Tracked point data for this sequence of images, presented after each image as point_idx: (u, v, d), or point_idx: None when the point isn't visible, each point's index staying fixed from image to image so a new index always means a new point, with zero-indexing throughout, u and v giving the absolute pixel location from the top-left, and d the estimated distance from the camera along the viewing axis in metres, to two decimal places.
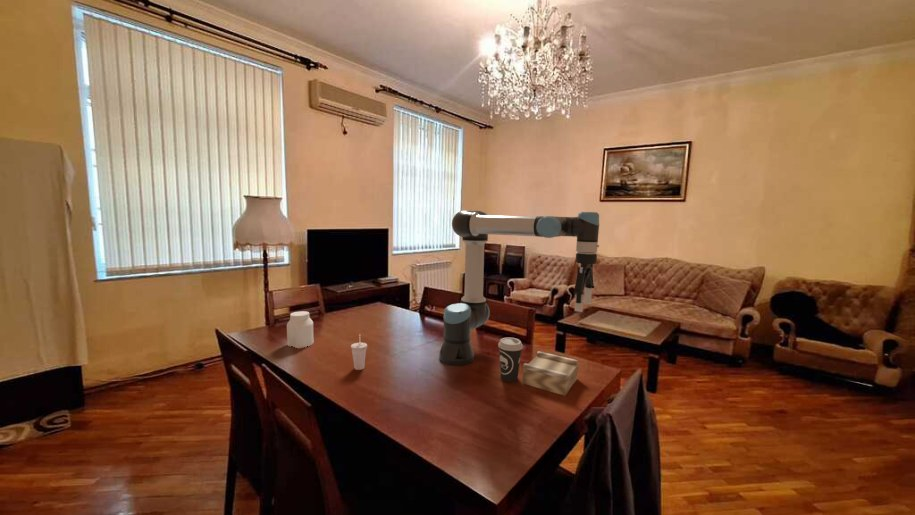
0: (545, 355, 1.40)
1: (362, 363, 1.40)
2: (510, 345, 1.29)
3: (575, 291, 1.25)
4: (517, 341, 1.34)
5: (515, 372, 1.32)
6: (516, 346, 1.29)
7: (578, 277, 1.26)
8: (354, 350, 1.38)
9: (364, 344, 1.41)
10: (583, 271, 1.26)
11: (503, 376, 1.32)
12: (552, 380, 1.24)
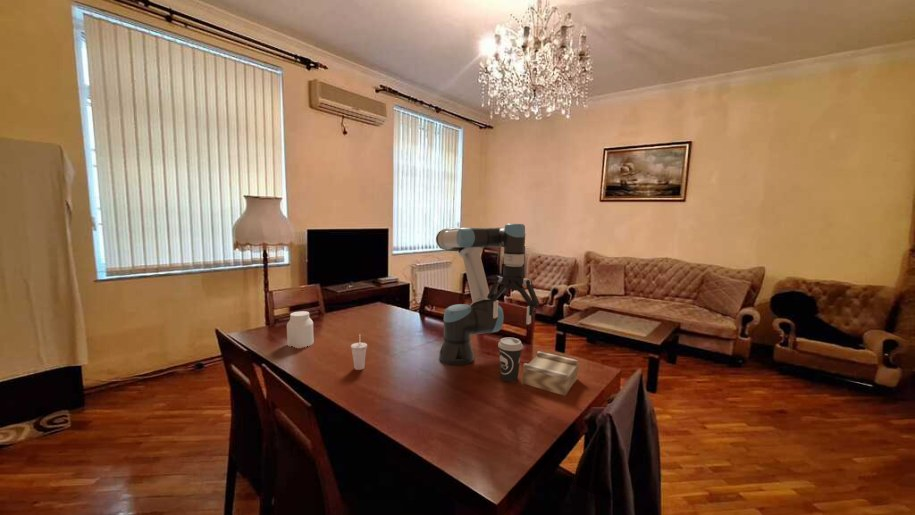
0: (545, 355, 1.40)
1: (362, 363, 1.40)
2: (510, 345, 1.29)
3: None
4: (517, 341, 1.34)
5: (515, 372, 1.32)
6: (516, 346, 1.29)
7: None
8: (354, 350, 1.38)
9: (364, 344, 1.41)
10: None
11: (503, 376, 1.32)
12: (552, 380, 1.24)
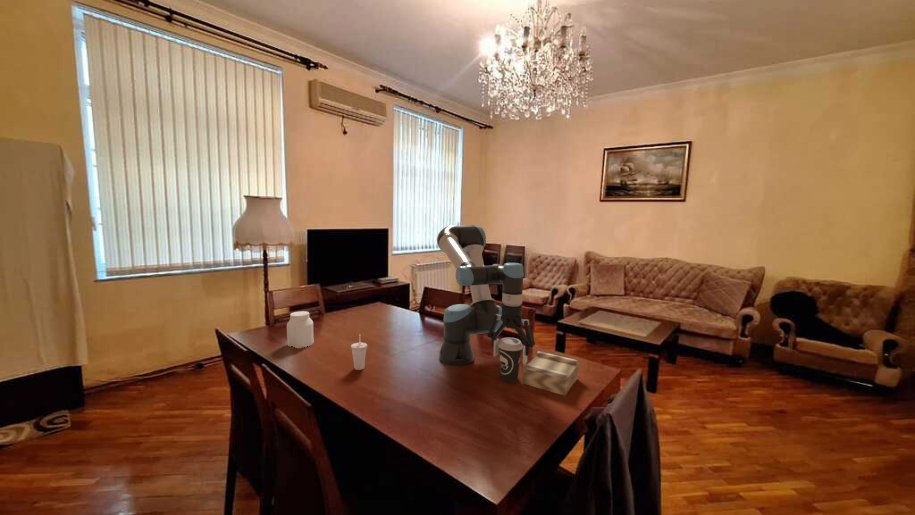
0: (545, 355, 1.40)
1: (362, 363, 1.40)
2: (510, 345, 1.29)
3: None
4: (517, 341, 1.34)
5: (515, 372, 1.32)
6: (516, 346, 1.29)
7: None
8: (354, 350, 1.38)
9: (364, 344, 1.41)
10: None
11: (503, 376, 1.32)
12: (552, 380, 1.24)
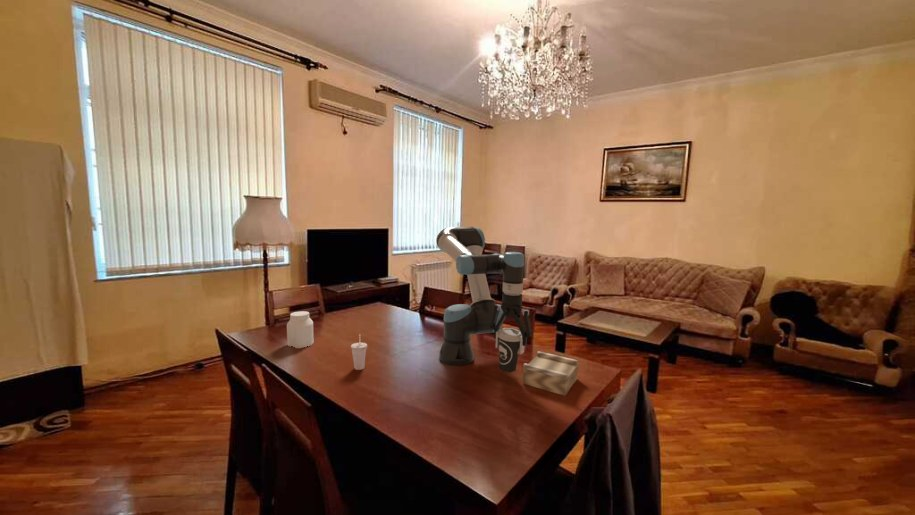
0: (545, 355, 1.40)
1: (362, 363, 1.40)
2: (510, 336, 1.29)
3: None
4: (517, 332, 1.34)
5: (514, 362, 1.32)
6: (516, 337, 1.29)
7: None
8: (354, 350, 1.38)
9: (364, 344, 1.41)
10: None
11: (501, 366, 1.33)
12: (552, 380, 1.24)
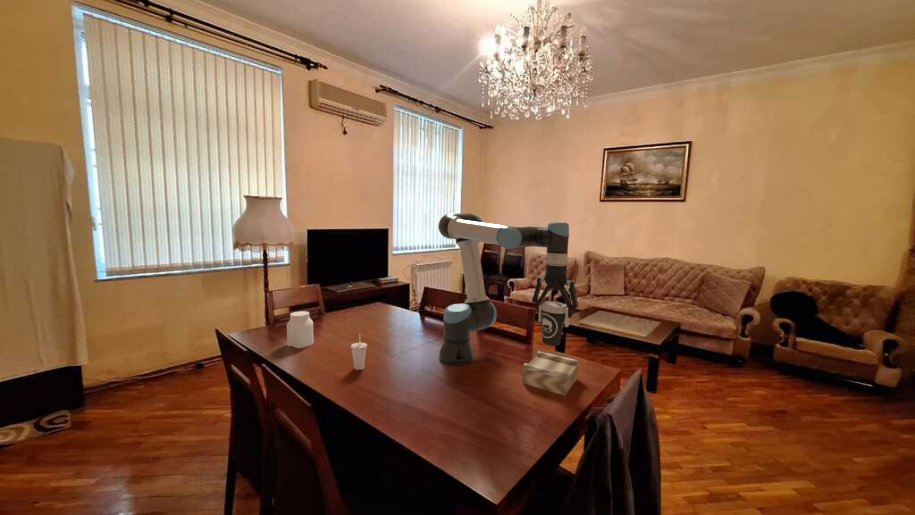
0: (545, 355, 1.40)
1: (362, 363, 1.40)
2: (555, 307, 1.26)
3: None
4: (561, 305, 1.31)
5: (559, 336, 1.28)
6: (561, 309, 1.26)
7: None
8: (354, 350, 1.38)
9: (364, 344, 1.41)
10: None
11: (546, 340, 1.29)
12: (552, 380, 1.24)
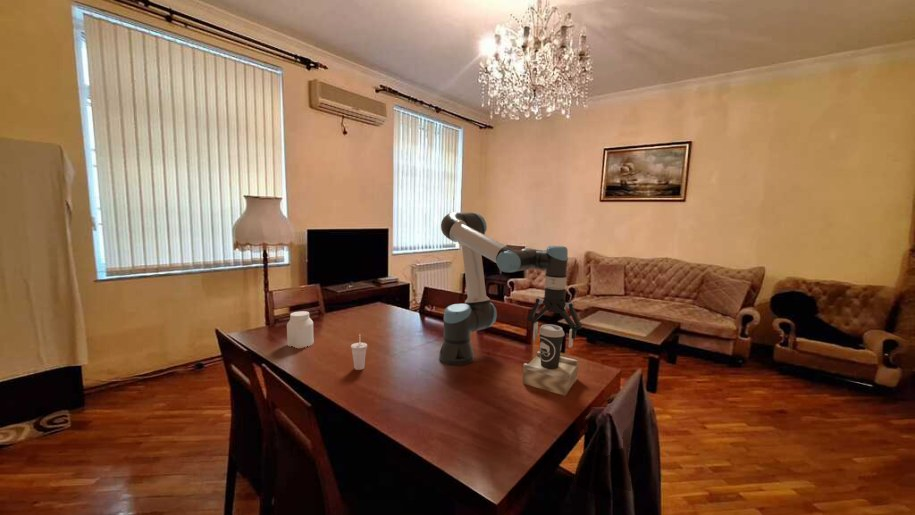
0: None
1: (362, 363, 1.40)
2: (552, 331, 1.27)
3: None
4: (558, 328, 1.32)
5: (557, 359, 1.29)
6: (558, 332, 1.27)
7: None
8: (354, 350, 1.38)
9: (364, 344, 1.41)
10: None
11: (544, 363, 1.30)
12: (552, 380, 1.24)
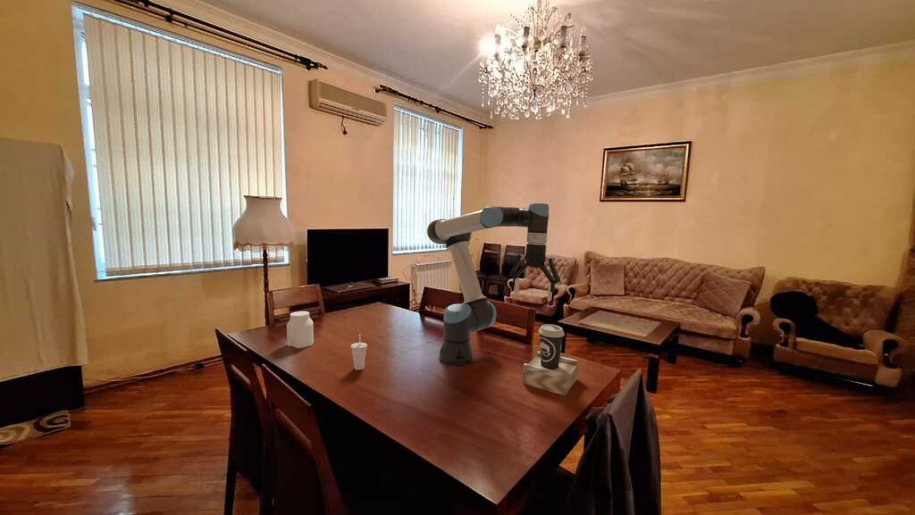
0: None
1: (362, 363, 1.40)
2: (552, 331, 1.27)
3: None
4: (558, 328, 1.32)
5: (557, 359, 1.29)
6: (558, 332, 1.27)
7: None
8: (354, 350, 1.38)
9: (364, 344, 1.41)
10: None
11: (544, 363, 1.30)
12: (552, 380, 1.24)
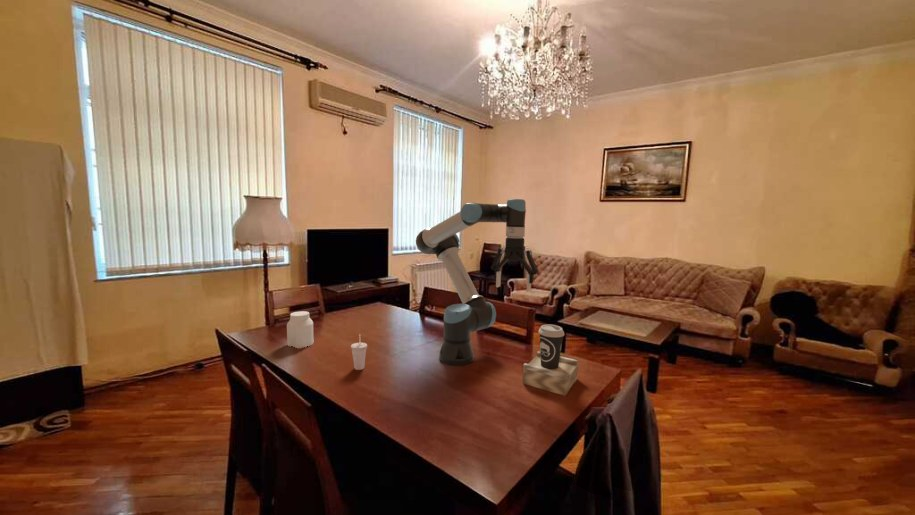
0: None
1: (362, 363, 1.40)
2: (552, 331, 1.27)
3: None
4: (558, 328, 1.32)
5: (557, 359, 1.29)
6: (558, 332, 1.27)
7: None
8: (354, 350, 1.38)
9: (364, 344, 1.41)
10: None
11: (544, 363, 1.30)
12: (552, 380, 1.24)
